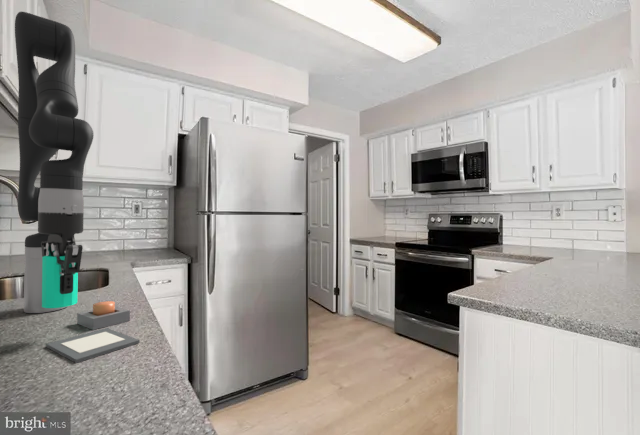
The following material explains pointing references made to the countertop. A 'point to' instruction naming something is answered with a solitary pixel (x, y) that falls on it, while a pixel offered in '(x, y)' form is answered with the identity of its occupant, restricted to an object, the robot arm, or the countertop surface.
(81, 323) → the button box
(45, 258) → the candle
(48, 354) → the countertop surface
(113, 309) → the button
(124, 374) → the countertop surface
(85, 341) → the grey flat plate
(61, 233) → the robot arm
